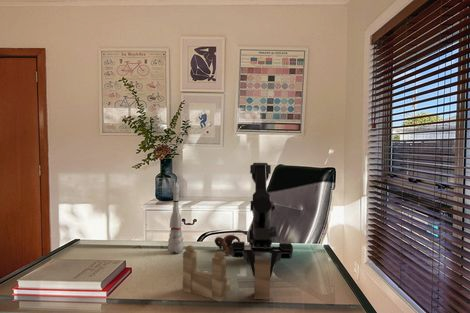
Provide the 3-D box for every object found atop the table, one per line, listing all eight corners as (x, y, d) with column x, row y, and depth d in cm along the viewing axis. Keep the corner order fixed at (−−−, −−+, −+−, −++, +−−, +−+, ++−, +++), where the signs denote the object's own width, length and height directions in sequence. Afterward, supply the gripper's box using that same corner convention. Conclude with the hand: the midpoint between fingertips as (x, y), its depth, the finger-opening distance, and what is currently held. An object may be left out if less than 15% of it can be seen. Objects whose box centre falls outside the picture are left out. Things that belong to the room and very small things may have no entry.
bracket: (254, 293, 100) (254, 252, 100) (269, 293, 100) (269, 252, 99) (254, 299, 95) (254, 257, 95) (269, 300, 95) (270, 257, 95)
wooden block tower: (199, 281, 108) (199, 239, 108) (235, 290, 101) (235, 246, 101) (182, 290, 101) (183, 245, 101) (220, 301, 94) (220, 253, 94)
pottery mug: (241, 249, 145) (244, 236, 141) (235, 265, 137) (238, 251, 133) (216, 241, 147) (218, 227, 143) (209, 256, 139) (211, 242, 135)
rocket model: (164, 251, 140) (164, 181, 139) (179, 248, 144) (180, 181, 143) (171, 256, 134) (172, 183, 133) (187, 252, 138) (188, 182, 137)
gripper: (232, 215, 101) (229, 263, 91) (292, 217, 100) (297, 265, 90) (233, 234, 109) (231, 280, 99) (289, 235, 108) (293, 282, 98)
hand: (262, 276), depth 96 cm, fingers closed on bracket, 4 cm apart
